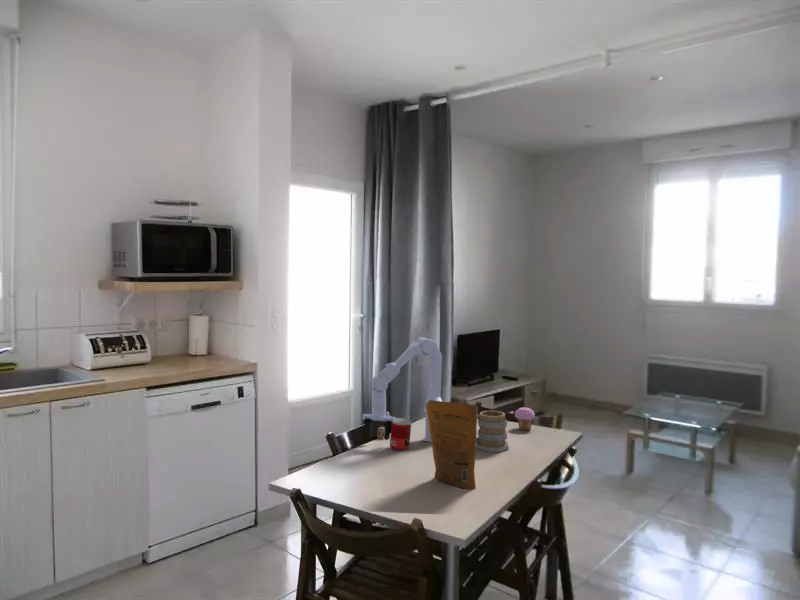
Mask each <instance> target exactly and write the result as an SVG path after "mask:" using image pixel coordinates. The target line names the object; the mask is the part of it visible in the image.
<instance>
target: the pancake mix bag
mask: <svg viewBox="0 0 800 600" xmlns="http://www.w3.org/2000/svg"><path fill="white" fill-rule="evenodd" d="M425 403H426V402H425ZM478 409H479V407H478V406H477V405H474V404H470V403H465V402H464V403H463V402H454V401H442V402H441V401H434V400H429V401H428V403H426V413H427V418H428V425H429V431H430V438H431V442H430V443H431V449H432V456H433V461H434V467H435V472H434V479H435V481H436V480H437V481H436V482H438V483H440V482H441V484H444V483H445V484H444V485H448V486H452V487H456V488H460V489H463V490H473V489H477V486H476V481H475V478H476V477H475V476H476V475H475V467H476V466H475V465H476V449H477V446H476V438H477V437H478V434H477V433H478V429H477V425H478V419H477V415H478Z"/></svg>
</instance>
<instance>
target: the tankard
mask: <svg viewBox="0 0 800 600" xmlns="http://www.w3.org/2000/svg"><path fill="white" fill-rule="evenodd" d="M477 425H478V427H479V429H477V436H476V449H477V450H479V449H480V451H483V450H484V452H486V451H487V452H486V453H502V452H505V450H506V451H508V450H509V443H508V441H506V440H507V439H508V432H507V430H506V428H507V427H508V421H507V418H506V413H505V411H504V412H503V411H498V410H483V411H480V412H479V414H477ZM501 451H502V452H501Z"/></svg>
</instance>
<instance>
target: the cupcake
mask: <svg viewBox="0 0 800 600" xmlns="http://www.w3.org/2000/svg"><path fill="white" fill-rule="evenodd" d="M535 414H536V413H535V412H534V410H533V409H532V408H530V407H524V406H523V407H519V408H518V409H516V410H515V412H514V418H516V419H517V423H518V427H519V430H524V431H525V430H526V431H529V430H532V421H533V420H534V419H535V417H536V416H535Z"/></svg>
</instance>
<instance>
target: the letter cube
mask: <svg viewBox="0 0 800 600" xmlns="http://www.w3.org/2000/svg"><path fill="white" fill-rule="evenodd" d="M376 434H377V439H383V437H384V438H385V427H384V426H380V427H378V428H377V432H376Z"/></svg>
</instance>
